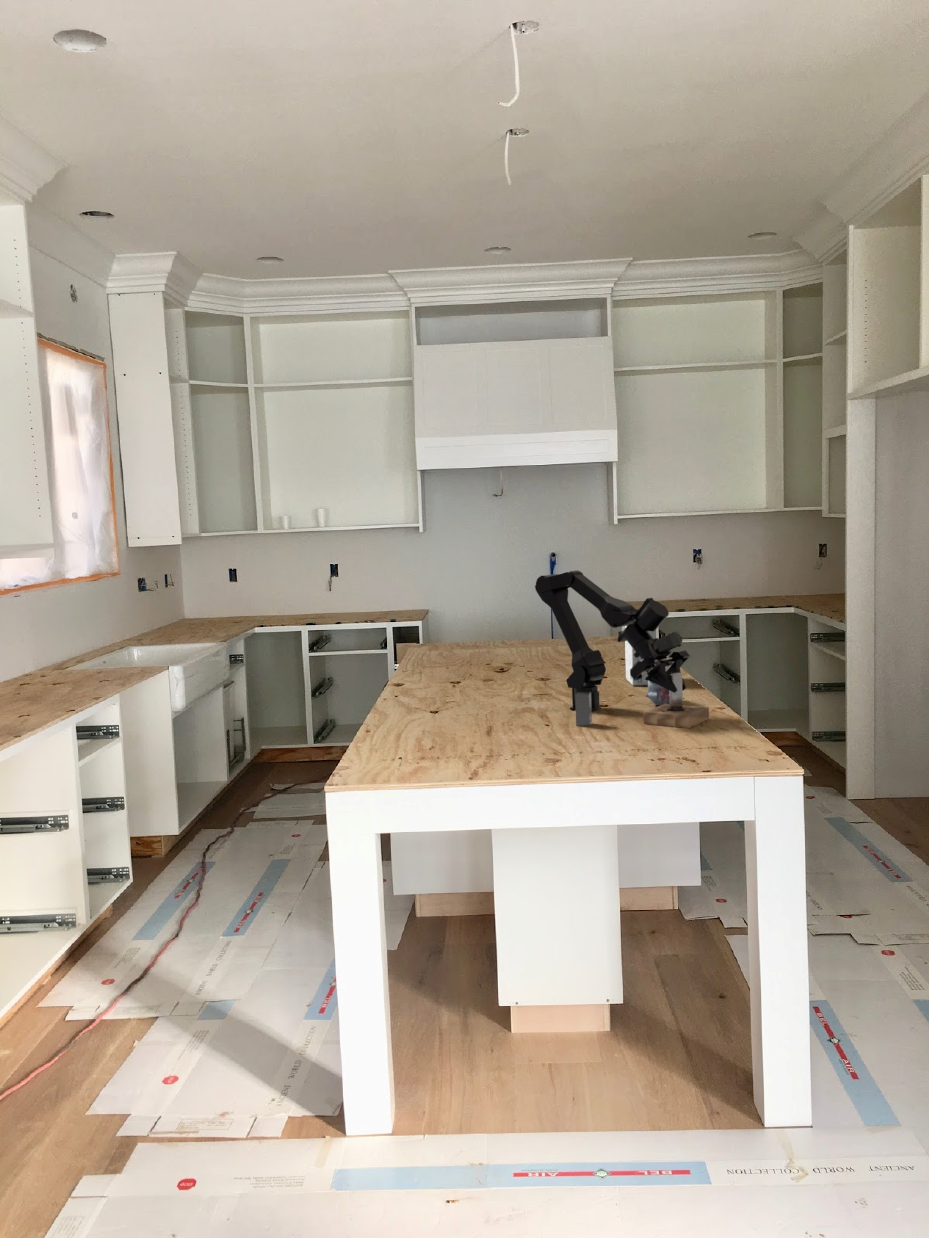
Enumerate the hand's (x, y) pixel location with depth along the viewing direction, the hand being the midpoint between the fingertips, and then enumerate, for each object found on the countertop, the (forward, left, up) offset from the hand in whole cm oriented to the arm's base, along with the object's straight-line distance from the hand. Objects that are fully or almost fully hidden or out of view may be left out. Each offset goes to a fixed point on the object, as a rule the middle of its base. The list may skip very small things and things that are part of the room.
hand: (680, 690), depth 246 cm
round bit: (-1, 0, -7) cm, 7 cm away
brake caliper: (-15, +21, -8) cm, 27 cm away
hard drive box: (-36, +50, -8) cm, 63 cm away
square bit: (-20, -13, -8) cm, 25 cm away
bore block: (-1, 0, -8) cm, 8 cm away
